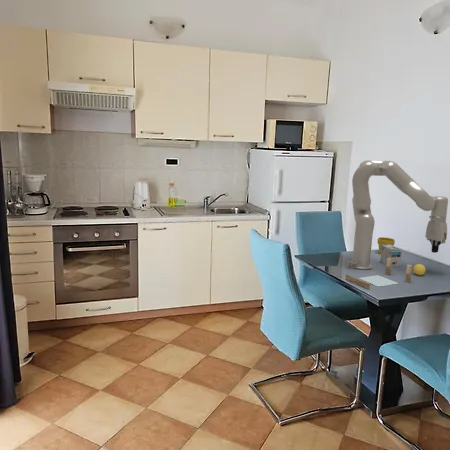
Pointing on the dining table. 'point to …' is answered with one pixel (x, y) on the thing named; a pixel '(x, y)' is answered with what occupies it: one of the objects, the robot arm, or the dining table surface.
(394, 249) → the light bulb box
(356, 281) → the stopper wall
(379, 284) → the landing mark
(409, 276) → the post right
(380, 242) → the plant pot
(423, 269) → the ball
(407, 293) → the dining table surface
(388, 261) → the post left
